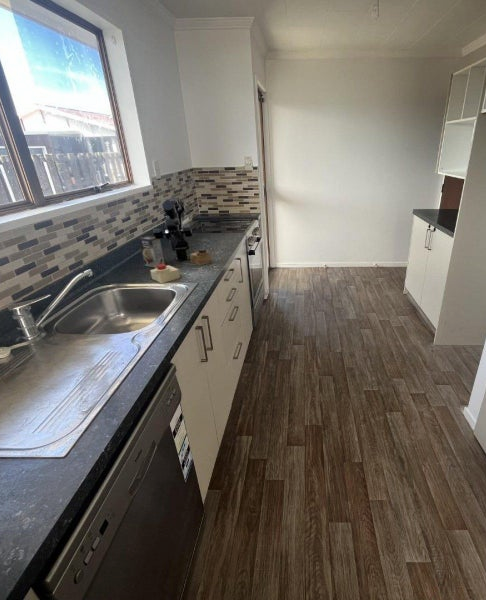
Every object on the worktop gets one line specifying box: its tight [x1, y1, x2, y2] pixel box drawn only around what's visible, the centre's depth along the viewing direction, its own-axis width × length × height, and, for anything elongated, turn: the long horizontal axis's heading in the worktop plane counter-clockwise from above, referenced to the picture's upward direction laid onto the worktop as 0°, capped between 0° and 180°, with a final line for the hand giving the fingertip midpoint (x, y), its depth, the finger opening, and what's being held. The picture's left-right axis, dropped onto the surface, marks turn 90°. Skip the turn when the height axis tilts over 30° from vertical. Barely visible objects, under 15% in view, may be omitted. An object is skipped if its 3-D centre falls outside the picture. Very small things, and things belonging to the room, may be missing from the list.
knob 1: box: [157, 263, 167, 270], centre depth 162 cm, size 4×4×2 cm
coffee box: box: [138, 235, 165, 269], centre depth 183 cm, size 9×6×16 cm
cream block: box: [150, 265, 181, 284], centre depth 166 cm, size 10×10×6 cm
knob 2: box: [198, 247, 207, 253], centre depth 185 cm, size 4×4×2 cm
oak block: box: [189, 249, 212, 267], centre depth 188 cm, size 11×8×7 cm
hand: (173, 247), depth 170 cm, fingers closed
